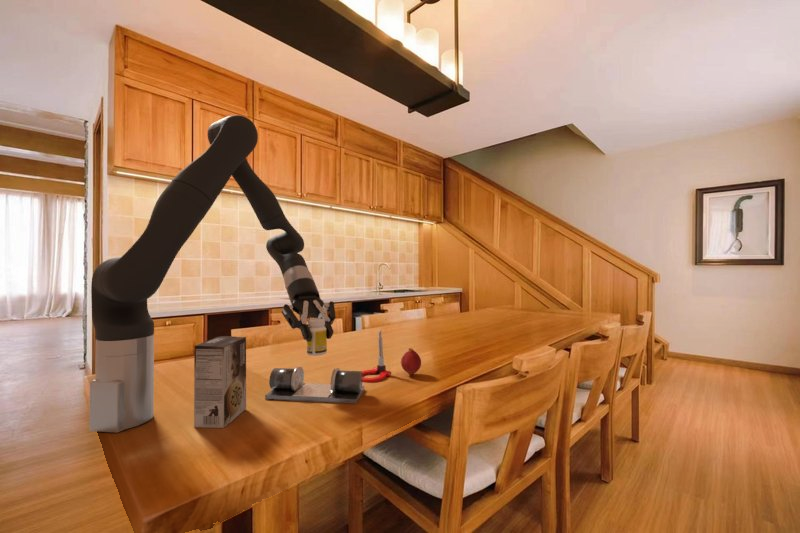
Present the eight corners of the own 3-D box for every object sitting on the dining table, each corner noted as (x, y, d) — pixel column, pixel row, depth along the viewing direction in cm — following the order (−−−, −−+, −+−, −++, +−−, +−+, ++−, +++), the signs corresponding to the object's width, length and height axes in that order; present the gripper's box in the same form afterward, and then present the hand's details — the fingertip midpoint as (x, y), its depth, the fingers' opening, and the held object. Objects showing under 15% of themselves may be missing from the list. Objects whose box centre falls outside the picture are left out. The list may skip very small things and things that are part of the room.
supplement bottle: (329, 351, 86) (329, 318, 86) (323, 356, 82) (323, 321, 82) (310, 350, 87) (310, 317, 87) (303, 355, 82) (303, 320, 82)
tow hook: (370, 386, 91) (393, 376, 98) (368, 338, 91) (392, 332, 98) (350, 379, 97) (373, 370, 104) (348, 334, 97) (372, 328, 104)
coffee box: (218, 408, 75) (219, 335, 75) (247, 409, 75) (247, 336, 75) (192, 428, 66) (192, 345, 66) (224, 428, 66) (225, 345, 66)
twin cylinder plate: (364, 389, 87) (364, 364, 87) (355, 403, 78) (356, 375, 78) (282, 386, 90) (282, 361, 90) (265, 399, 81) (265, 371, 81)
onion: (408, 370, 103) (408, 344, 104) (424, 374, 100) (424, 347, 100) (397, 375, 99) (397, 348, 99) (413, 379, 95) (414, 351, 95)
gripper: (277, 277, 85) (295, 332, 76) (329, 276, 94) (351, 325, 85) (270, 296, 90) (287, 351, 80) (320, 294, 99) (341, 343, 89)
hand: (320, 338), depth 83 cm, fingers closed on supplement bottle, 4 cm apart
